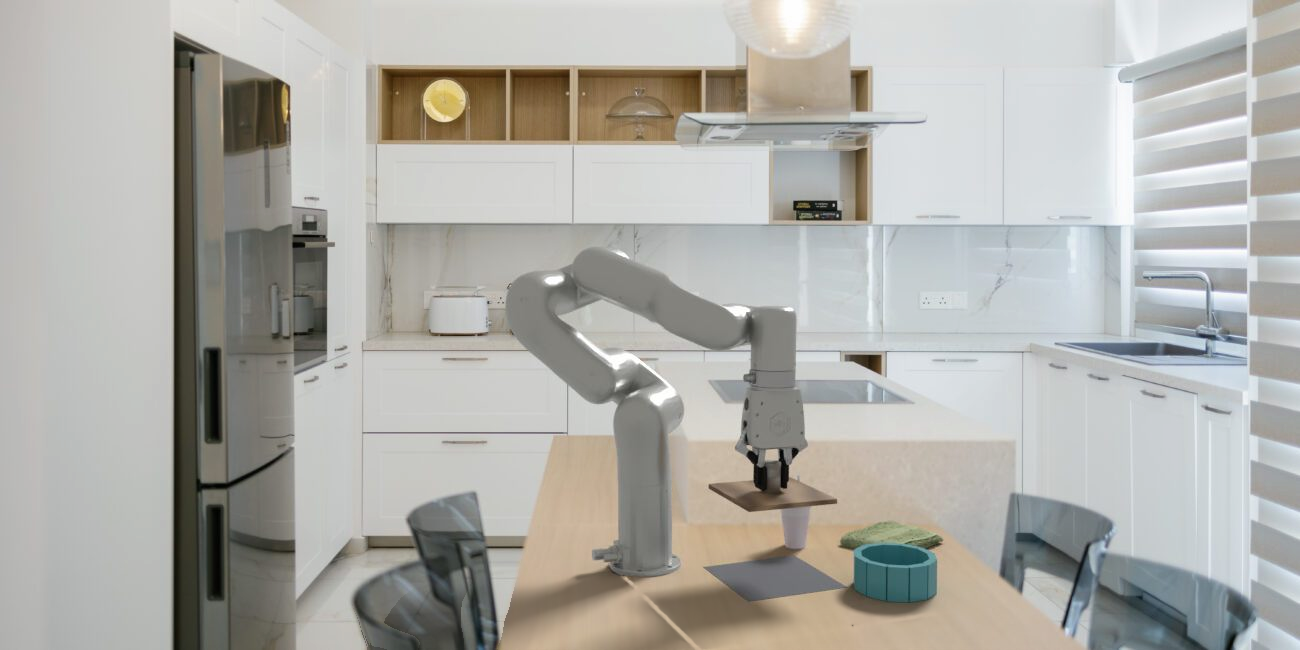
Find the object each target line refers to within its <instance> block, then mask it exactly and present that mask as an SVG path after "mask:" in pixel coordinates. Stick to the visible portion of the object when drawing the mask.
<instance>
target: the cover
mask: <svg viewBox="0 0 1300 650" xmlns="http://www.w3.org/2000/svg"><path fill="white" fill-rule="evenodd" d="M764 466H765V467H767V489H766V490H765V491H762V490H760V489H758V488H756V487H755V484H754V481H753V479H752V480H742V481H730V482H729V481H728V482H717V483H708V490H709V491H710V490H711V491H712V492H714V493H716V494H717V495H718V496H721V497H722V498H724V499H725V500H728V501H729V502H731V503H733V504H734V505H737V506H738V507H740V508H741V509H742V510H745V511H746V512H748V513H751V512H752V513H753V512H755V513H756V512H765V511H774V510H776V511H777V510H781V509H787V508H797V507H808V506H811V507H816V506H827V505H836V504H838V498H836V497H834V496H832V495H830V494H828V493H825V492H824V491H821V490H818V489H816V488H815V487H812V486H810V485H808V484H806V483H803V482H801V480H800V481H797V479H795V478H793V477H791V476H789V481H788V482H787V489H783V488H781V462H780V461H778V459H776V460H775V459H765V462H764Z"/></svg>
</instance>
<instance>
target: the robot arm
mask: <svg viewBox="0 0 1300 650" xmlns="http://www.w3.org/2000/svg"><path fill="white" fill-rule="evenodd" d="M601 300H603V301H605V302H607V303H609V304H612V305H613V306H617V307H619V308H621V309H624V310H626V311H629V312H631V313H633V314H636V315H637V316H640V317H642V318H645V320H648V321H649V323H652V324H654V325H656V326H658V327H659V328H662V329H663V330H664V331H667V332H669V333H670V334H672V335H675V336H677V337H679V338H681V339H683V340H685V341H688V342H690V343H693V344H695V345H698V346H700V347H703V348H705V349H708V350H710V351H714V352H727V351H730V350H732V349H735V348H739V347H745V346H750V369H749V372H748V373H745V374H743V376H742V377H743V378H742V379H743V382H744V383H748V384H749V387H746V391H745V395H744V398H743V404H742V412H741V425H740V436H739V438H738V440H737V442H736V444H735V446H734V451H735V452H738V453H739V454H741V455H743V456H745V457H746V458H747V459H748V460H749V461H750V463H751V464H752V465H753V479H752V480H753V481H754V484H755V487H756V488H758V489H760V490H762V491H765V490H766V489H767V467H765V466H764V462H765V460H766V452H767V450H777V458H778V459H777V461H780V462H781V488H783V489H787V482H788V481H789V477H790V466H791V465H792V464H793V461H794V459H795V458H796V457H797V455H798V454H799V453H800V452H802V451H803V450H805V449H806V448H808V446H809V443H808V440H807V439H806V434H805V433H806V432H805V431H806V427H805V426H806V425H805V423H806V422H805V412H804V411H805V410H804V401H803V398H802V392H801V388H800V387H796V371H797V370H796V367H797V365H796V364H797V362H796V361H797V322H798V321H797V313H796V311H795V309H793V307H790V306H789V307H788V306H783V305H782V306H781V305H764V306H763V305H761V306H752V305H746V304H740V303H725V304H718V303H716V302H713V301H711V300H708V299H705V298H703V297H700V296H698V295H696V294H694V293H691V292H689V291H687V290H685V289H683V288H682V287H680V286H678V285H677V284H676V283H675V282H674V281H673V280H672V278H671V277H670V276H669V275H668V274H667V273H665V272H664V271H661V270H658V269H656V268H654V267H652V266H649V265H646V264H643V263H641V262H639V261H635V260H633V259H631V258H630V257H629V256H628V255H627V254H626V253H625V252H624V251H623V250H621V249H618V248H615V247H611V246H591V247H587V248H584V249H583V250H582V251H580V252H579V253H578V254H577V255H576V256H575V257H574V259H573V261H572V263H570V264H568V265H566V266H564V267H561V268H558V269H556V270H534V271H529V272H526V273H523V274H521V275H520V276H519V277H517V278H515V280H513V282H512V283H511V284H510V286H509V288H508V290H507V293H506V296H505V316H506V321H507V323H508V326H509V329H510V331H511V332H512V334H513V335H514V337H515V339H516V340H517V341H518V342H519V344H521V345H522V347H523V348H524V349H526V351H528V352H529V353H531V355H533V357H535V358H537V360H539V361H540V362H541V363H542V364H544V366H546V367H547V368H548V369H549V370H551V372H553V374H555V375H556V376H557V377H558V378H559V379H561V380H562V381H563V382H564V383H565V384H566V385H567V386H568V387H570V388H571V389H572V390H574V392H575V393H577V394H578V395H579V396H580V397H581V398H582V399H584V400H585V401H586V402H587V403H590V404H593V405H604V404H608V403H611V402H613V403H614V404H616V405H617V406H616V408H615V411H614V415H613V421H612V424H613V425H612V427H613V435H614V441H615V449H616V463H617V469H616V470H617V506H618V507H617V511H618V512H617V516H618V517H617V521H618V522H617V523H618V527H617V528H618V533H617V534H618V539H617V540H616V539H615V540H613V545H609V546H608V548H603V547H602V548H595V549H594V548H593V549H592V550H591V558H592V560H593V561H601V560H602V561H603V563H609V568H610V569H611V571H612V572H614V573H615V574H618V575H621V576H622V577H623V576H625V577H627V576H630V577H642V578H644V577H646V578H647V577H650V578H651V577H660V576H664V575H668V574H671V573H675V572H676V571H678V570H679V569H681V566H682V560H681V558H680V557H679V556H678V555H676V554H675V553H673V512H672V511H673V504H672V503H673V500H672V499H673V495H672V492H673V491H672V490H673V489H672V488H673V486H672V485H673V484H672V483H673V481H672V457H671V450H670V444H669V434H671V433H672V432H674V431H675V430H676V429H677V428H679V426H680V425H681V424H682V421H683V419H684V417H685V405H684V404H685V403H684V401H683V398H682V396H681V395H680V394H679V392H678V391H677V390H676V388H674V387H673V386H672V385H671V384H670V383H669V382H667V381H666V380H665V379H664V378H663V377H661V375H659V374H658V373H656V372H655V371H654V370H653V369H652V368H651V367H649V366H648V365H647V364H645V363H644V362H643V361H642V360H641V359H639V358H638V357H637V356H636V355H634V354H633V353H632V352H629V351H627V350H626V349H622V348H619V347H606V348H600V347H599V346H597V345H596V344H594V343H593V342H592V341H591V340H590V339H588V338H587V337H585V336H584V335H583V333H581V332H580V331H579V330H578V329H576V328H575V327H574V326H572V325H570V324H569V323H567V322H566V321H564V320H562V319H561V318H560V317H558V316H563V315H567V314H570V313H572V312H575V311H578V310H579V309H581V308H584V307H587V306H590V305H592V304H594V303H596V302H599V301H601ZM747 446H750V447H751V449H749V448H748V447H747Z"/></svg>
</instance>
